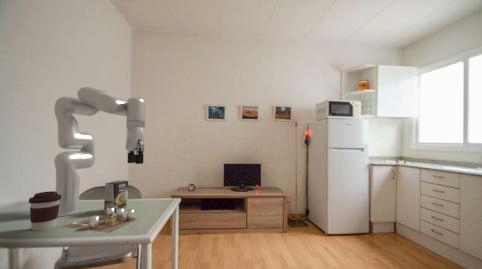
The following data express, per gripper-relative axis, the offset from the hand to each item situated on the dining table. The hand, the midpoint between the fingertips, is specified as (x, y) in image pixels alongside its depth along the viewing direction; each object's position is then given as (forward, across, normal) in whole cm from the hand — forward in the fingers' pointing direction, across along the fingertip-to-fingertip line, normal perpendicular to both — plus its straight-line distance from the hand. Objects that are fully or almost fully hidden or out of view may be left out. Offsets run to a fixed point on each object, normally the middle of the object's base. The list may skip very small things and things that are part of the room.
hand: (135, 163), depth 94 cm
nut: (+25, -5, -8) cm, 27 cm away
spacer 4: (+26, -4, 0) cm, 26 cm away
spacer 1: (+25, -4, -14) cm, 29 cm away
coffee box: (+26, -23, -1) cm, 35 cm away
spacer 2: (+25, -13, -6) cm, 29 cm away
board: (+26, -9, -10) cm, 30 cm away
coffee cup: (+26, -20, -28) cm, 44 cm away
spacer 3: (+25, -8, -3) cm, 27 cm away
